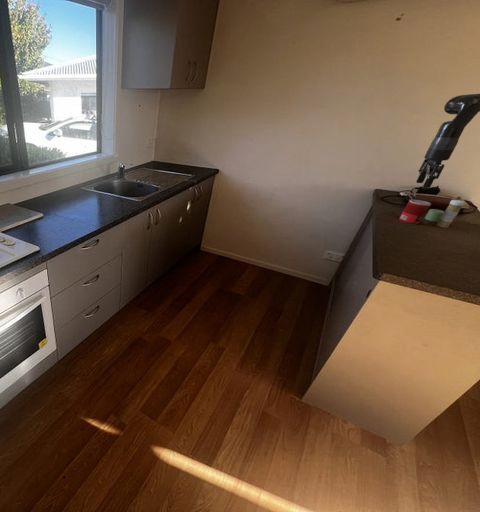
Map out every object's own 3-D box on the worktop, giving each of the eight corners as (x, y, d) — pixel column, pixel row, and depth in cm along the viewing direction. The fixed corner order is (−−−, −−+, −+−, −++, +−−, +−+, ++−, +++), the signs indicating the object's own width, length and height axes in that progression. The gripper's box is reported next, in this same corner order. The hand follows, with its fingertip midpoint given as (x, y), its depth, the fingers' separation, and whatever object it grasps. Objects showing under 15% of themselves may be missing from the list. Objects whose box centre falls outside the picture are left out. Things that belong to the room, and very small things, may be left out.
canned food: (417, 226, 147) (430, 205, 141) (396, 221, 152) (408, 201, 147) (419, 222, 151) (432, 202, 146) (399, 217, 156) (410, 198, 151)
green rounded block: (430, 217, 157) (435, 208, 155) (443, 221, 152) (449, 212, 150) (421, 218, 156) (426, 209, 154) (434, 222, 151) (440, 213, 149)
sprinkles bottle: (439, 224, 149) (455, 199, 142) (450, 227, 145) (468, 202, 138) (433, 224, 148) (449, 199, 141) (444, 228, 144) (461, 202, 137)
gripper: (461, 150, 118) (440, 189, 126) (446, 145, 129) (427, 182, 136) (436, 150, 121) (416, 188, 129) (423, 145, 132) (406, 180, 140)
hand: (422, 185), depth 133 cm, fingers open, 8 cm apart
